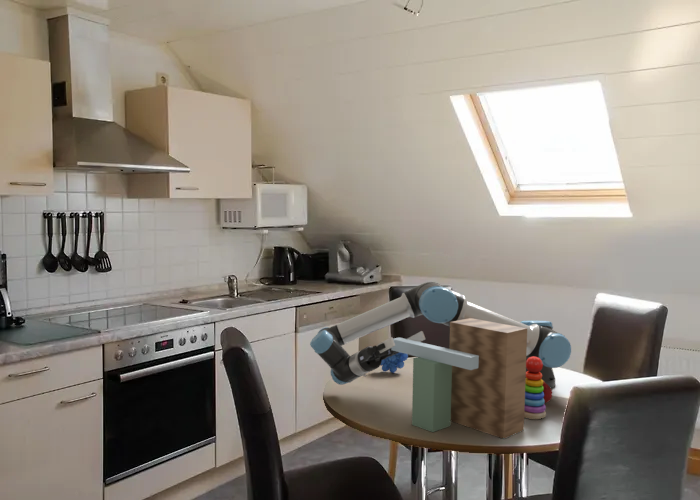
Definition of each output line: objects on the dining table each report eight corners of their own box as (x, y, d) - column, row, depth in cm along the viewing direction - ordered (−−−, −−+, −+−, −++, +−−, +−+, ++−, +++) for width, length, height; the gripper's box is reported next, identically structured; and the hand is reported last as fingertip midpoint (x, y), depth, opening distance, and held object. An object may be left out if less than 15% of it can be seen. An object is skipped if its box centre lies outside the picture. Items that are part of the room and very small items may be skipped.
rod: (391, 350, 198) (391, 338, 197) (399, 348, 200) (399, 337, 200) (470, 370, 176) (471, 357, 175) (478, 368, 178) (478, 355, 178)
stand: (447, 420, 194) (450, 322, 192) (467, 412, 201) (470, 318, 198) (503, 438, 180) (507, 333, 177) (523, 430, 186) (527, 328, 184)
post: (411, 424, 190) (413, 358, 188) (429, 418, 195) (431, 354, 194) (432, 432, 184) (434, 363, 182) (450, 425, 189) (452, 359, 188)
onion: (552, 402, 212) (553, 379, 211) (551, 408, 207) (552, 383, 206) (533, 400, 214) (534, 377, 213) (532, 405, 208) (533, 381, 208)
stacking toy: (515, 411, 203) (517, 353, 201) (540, 411, 203) (542, 353, 202) (524, 420, 195) (526, 359, 193) (550, 420, 195) (552, 359, 194)
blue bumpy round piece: (408, 370, 249) (408, 340, 248) (406, 375, 243) (407, 343, 242) (378, 368, 251) (379, 338, 250) (376, 373, 245) (376, 342, 244)
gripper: (396, 365, 216) (439, 343, 202) (341, 378, 199) (383, 356, 185) (388, 344, 219) (430, 321, 204) (333, 355, 202) (375, 332, 187)
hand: (408, 338), depth 195 cm, fingers open, 13 cm apart
